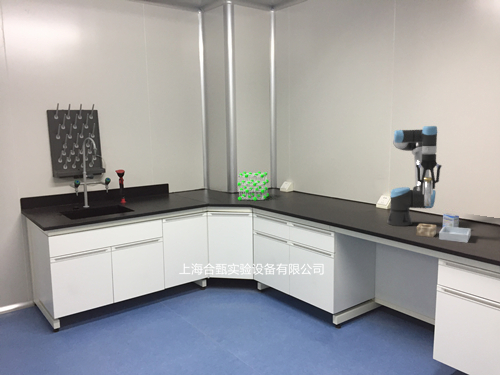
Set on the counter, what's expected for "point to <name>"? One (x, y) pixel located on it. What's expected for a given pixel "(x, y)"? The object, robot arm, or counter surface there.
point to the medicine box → (450, 220)
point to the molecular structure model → (254, 183)
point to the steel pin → (427, 191)
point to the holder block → (426, 230)
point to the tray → (455, 234)
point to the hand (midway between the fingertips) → (427, 194)
